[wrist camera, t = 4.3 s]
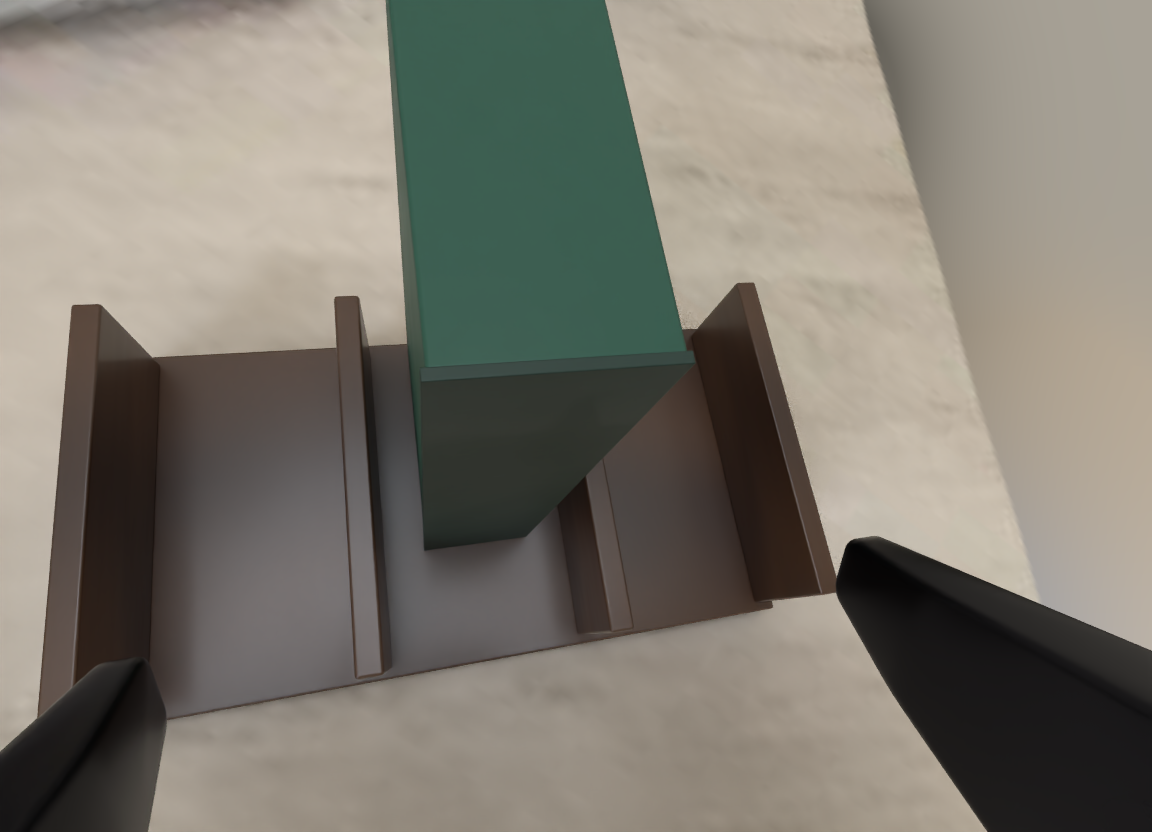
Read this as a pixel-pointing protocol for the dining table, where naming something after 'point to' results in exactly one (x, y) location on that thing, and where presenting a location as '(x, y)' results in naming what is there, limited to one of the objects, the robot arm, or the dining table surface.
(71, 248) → the dining table surface
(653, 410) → the book rack
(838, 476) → the dining table surface
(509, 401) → the green rectangular block
